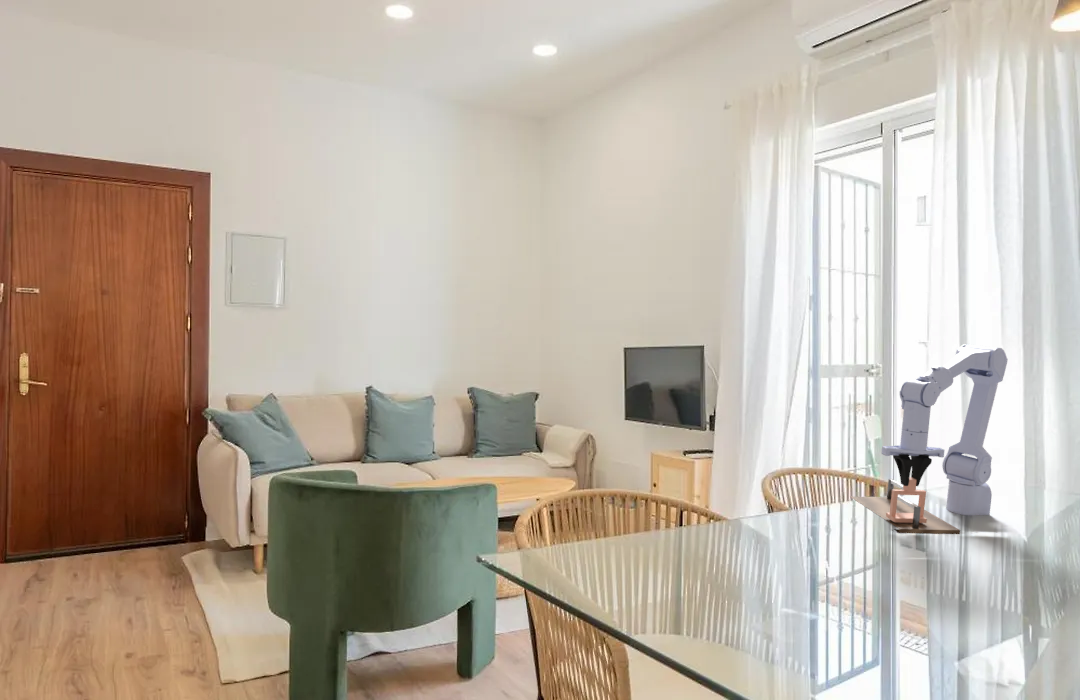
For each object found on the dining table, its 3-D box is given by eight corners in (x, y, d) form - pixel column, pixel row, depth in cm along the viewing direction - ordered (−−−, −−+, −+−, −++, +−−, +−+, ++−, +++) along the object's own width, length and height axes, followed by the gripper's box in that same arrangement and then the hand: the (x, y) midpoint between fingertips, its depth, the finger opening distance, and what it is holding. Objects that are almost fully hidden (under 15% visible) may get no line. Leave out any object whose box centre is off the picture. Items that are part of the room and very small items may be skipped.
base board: (903, 501, 203) (903, 497, 203) (959, 534, 178) (960, 530, 178) (849, 500, 202) (850, 496, 202) (898, 533, 177) (899, 529, 177)
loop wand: (917, 517, 185) (921, 476, 183) (926, 522, 181) (931, 481, 179) (885, 516, 184) (890, 475, 183) (894, 522, 180) (898, 480, 179)
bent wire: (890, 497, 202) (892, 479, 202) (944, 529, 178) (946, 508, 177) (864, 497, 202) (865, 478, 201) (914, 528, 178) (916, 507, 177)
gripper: (934, 427, 184) (929, 480, 186) (877, 425, 183) (872, 479, 185) (951, 433, 177) (945, 489, 179) (892, 432, 176) (887, 487, 178)
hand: (909, 484), depth 181 cm, fingers closed on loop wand, 2 cm apart
